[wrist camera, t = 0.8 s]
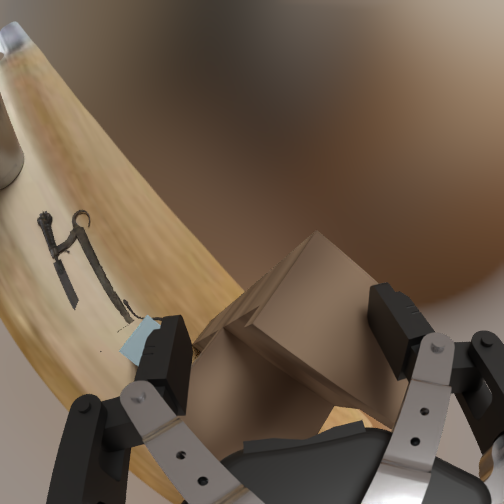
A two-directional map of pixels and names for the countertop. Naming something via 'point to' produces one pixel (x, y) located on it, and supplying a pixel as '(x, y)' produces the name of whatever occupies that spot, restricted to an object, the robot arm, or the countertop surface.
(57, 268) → the hacksaw
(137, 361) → the block
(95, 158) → the countertop surface
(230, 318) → the brown tall blocky piece
